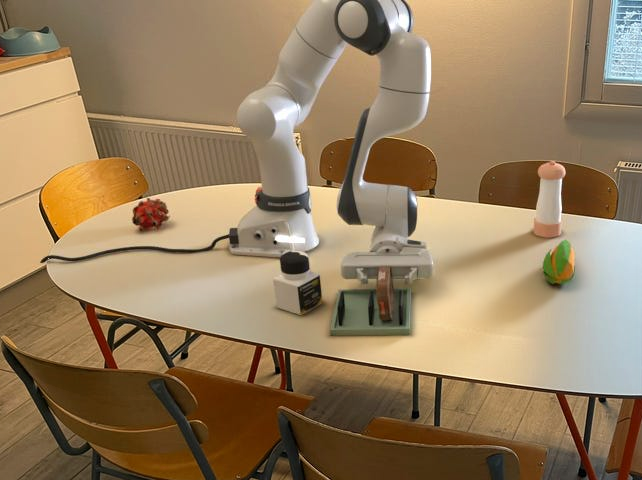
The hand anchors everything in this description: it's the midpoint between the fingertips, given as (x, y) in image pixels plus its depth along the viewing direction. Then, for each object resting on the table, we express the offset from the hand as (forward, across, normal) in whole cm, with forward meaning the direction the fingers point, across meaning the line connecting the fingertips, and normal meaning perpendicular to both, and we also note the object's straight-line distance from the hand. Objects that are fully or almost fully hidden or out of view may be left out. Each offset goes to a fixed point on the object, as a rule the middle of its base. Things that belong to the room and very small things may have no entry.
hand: (386, 281), depth 157 cm
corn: (-16, +40, +6) cm, 44 cm away
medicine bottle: (-1, -19, +6) cm, 20 cm away
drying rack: (+3, -3, +6) cm, 7 cm away
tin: (+3, 0, +6) cm, 6 cm away
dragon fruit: (-48, -65, +6) cm, 81 cm away
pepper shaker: (-42, +41, +6) cm, 59 cm away
